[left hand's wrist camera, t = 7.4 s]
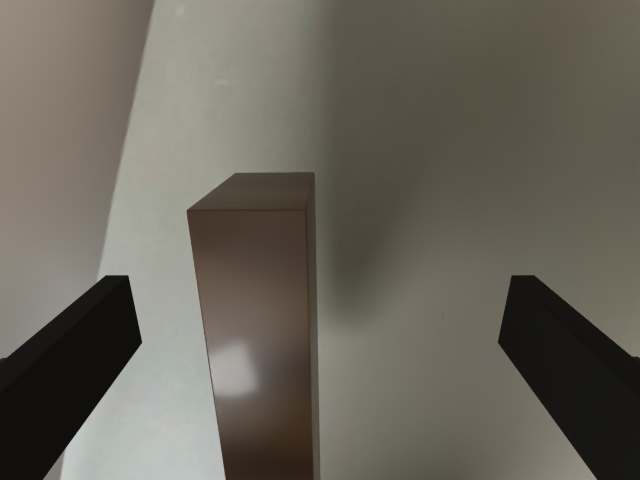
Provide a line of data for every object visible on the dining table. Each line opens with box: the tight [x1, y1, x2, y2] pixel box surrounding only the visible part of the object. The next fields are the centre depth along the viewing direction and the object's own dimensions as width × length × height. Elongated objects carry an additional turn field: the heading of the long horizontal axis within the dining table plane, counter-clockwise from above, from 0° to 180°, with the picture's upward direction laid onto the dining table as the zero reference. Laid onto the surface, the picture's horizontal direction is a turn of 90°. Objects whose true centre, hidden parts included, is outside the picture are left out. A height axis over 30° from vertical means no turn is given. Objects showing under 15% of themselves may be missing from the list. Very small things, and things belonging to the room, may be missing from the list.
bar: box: [187, 172, 320, 480], centre depth 24 cm, size 28×5×9 cm, turn 1°
